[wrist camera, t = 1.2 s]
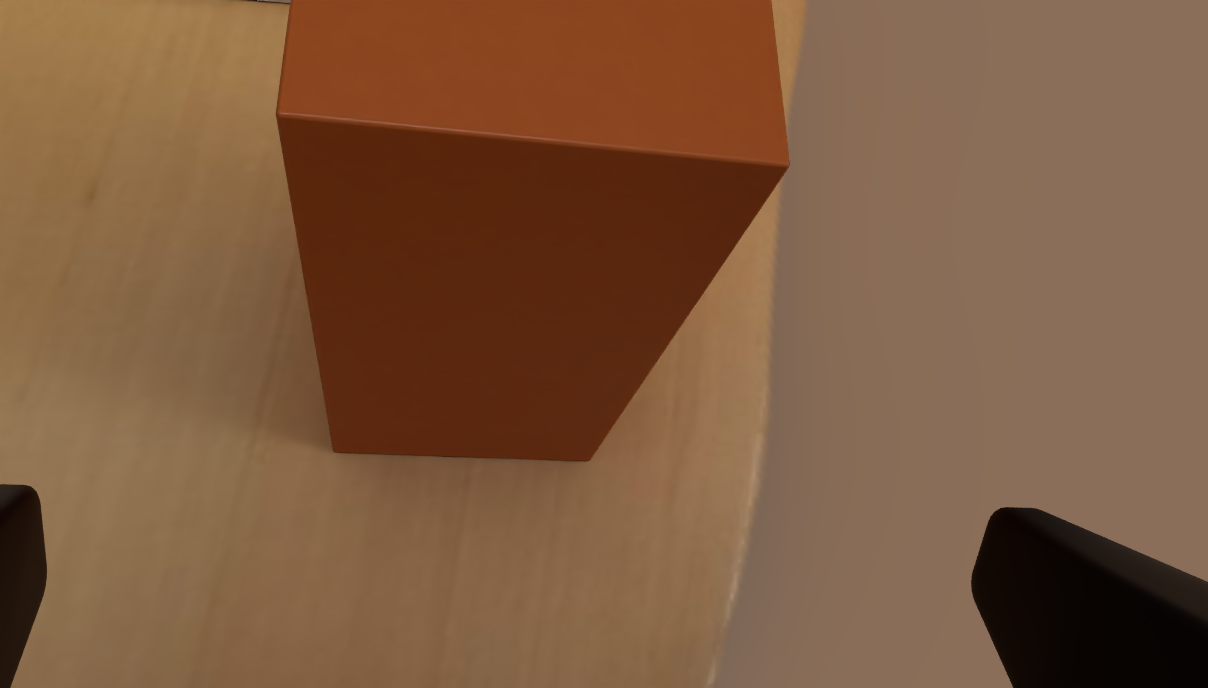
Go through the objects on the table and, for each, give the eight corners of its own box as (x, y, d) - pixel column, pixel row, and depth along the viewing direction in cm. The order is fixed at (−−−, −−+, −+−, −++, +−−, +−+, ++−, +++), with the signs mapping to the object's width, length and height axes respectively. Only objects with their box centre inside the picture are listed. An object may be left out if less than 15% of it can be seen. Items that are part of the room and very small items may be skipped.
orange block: (589, 461, 24) (792, 165, 12) (333, 452, 22) (274, 115, 11) (585, 242, 26) (751, -186, 14) (353, 224, 25) (323, -260, 13)
